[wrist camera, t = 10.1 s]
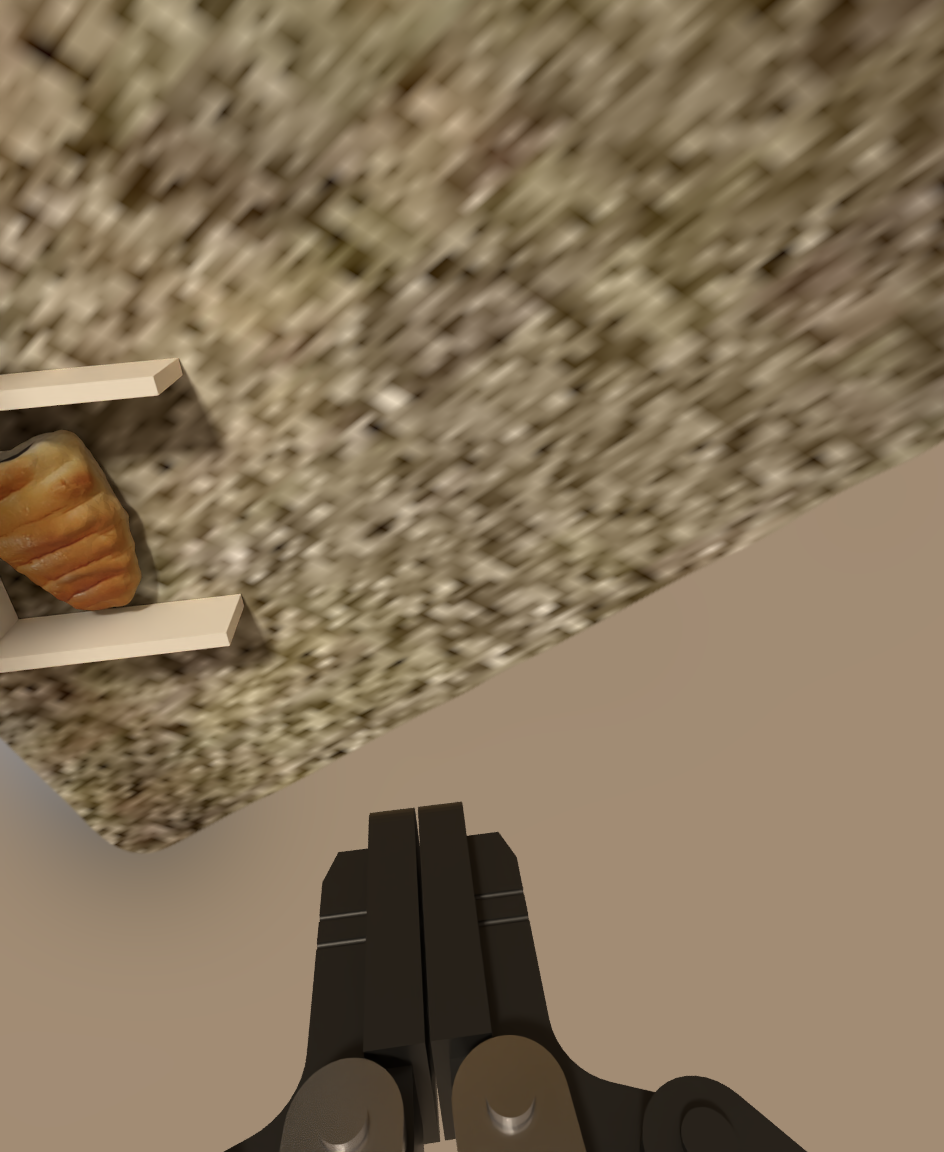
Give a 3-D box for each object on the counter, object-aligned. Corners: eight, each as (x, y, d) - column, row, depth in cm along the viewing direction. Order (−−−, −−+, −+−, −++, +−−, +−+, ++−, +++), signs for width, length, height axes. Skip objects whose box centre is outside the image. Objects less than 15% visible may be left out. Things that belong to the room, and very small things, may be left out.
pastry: (181, 571, 38) (160, 607, 35) (72, 614, 39) (41, 653, 36) (75, 413, 34) (39, 436, 31) (-46, 464, 35) (-94, 493, 31)
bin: (-105, 384, 32) (-166, 406, 29) (178, 357, 33) (153, 376, 30) (9, 633, 39) (-29, 676, 35) (244, 606, 39) (229, 645, 36)
